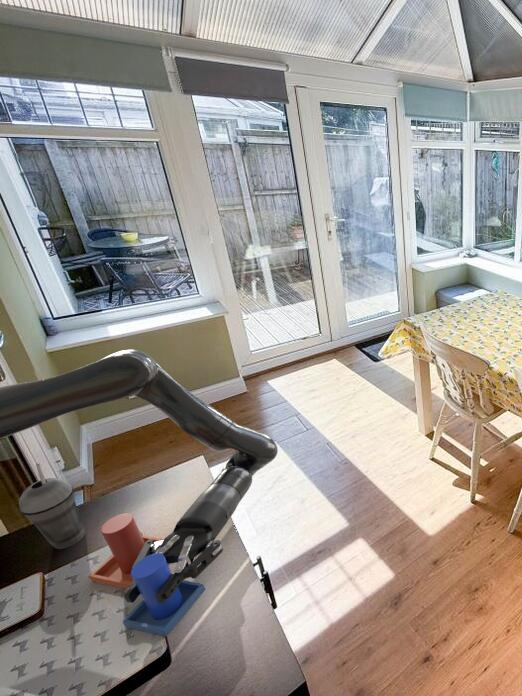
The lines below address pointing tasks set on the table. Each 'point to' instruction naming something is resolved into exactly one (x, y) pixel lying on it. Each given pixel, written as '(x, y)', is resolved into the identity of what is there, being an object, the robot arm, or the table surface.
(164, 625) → the blue tray
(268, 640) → the table surface
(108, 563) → the terracotta tray
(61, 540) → the beverage cup
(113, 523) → the red canister
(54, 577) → the table surface
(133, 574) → the blue canister
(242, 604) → the table surface
